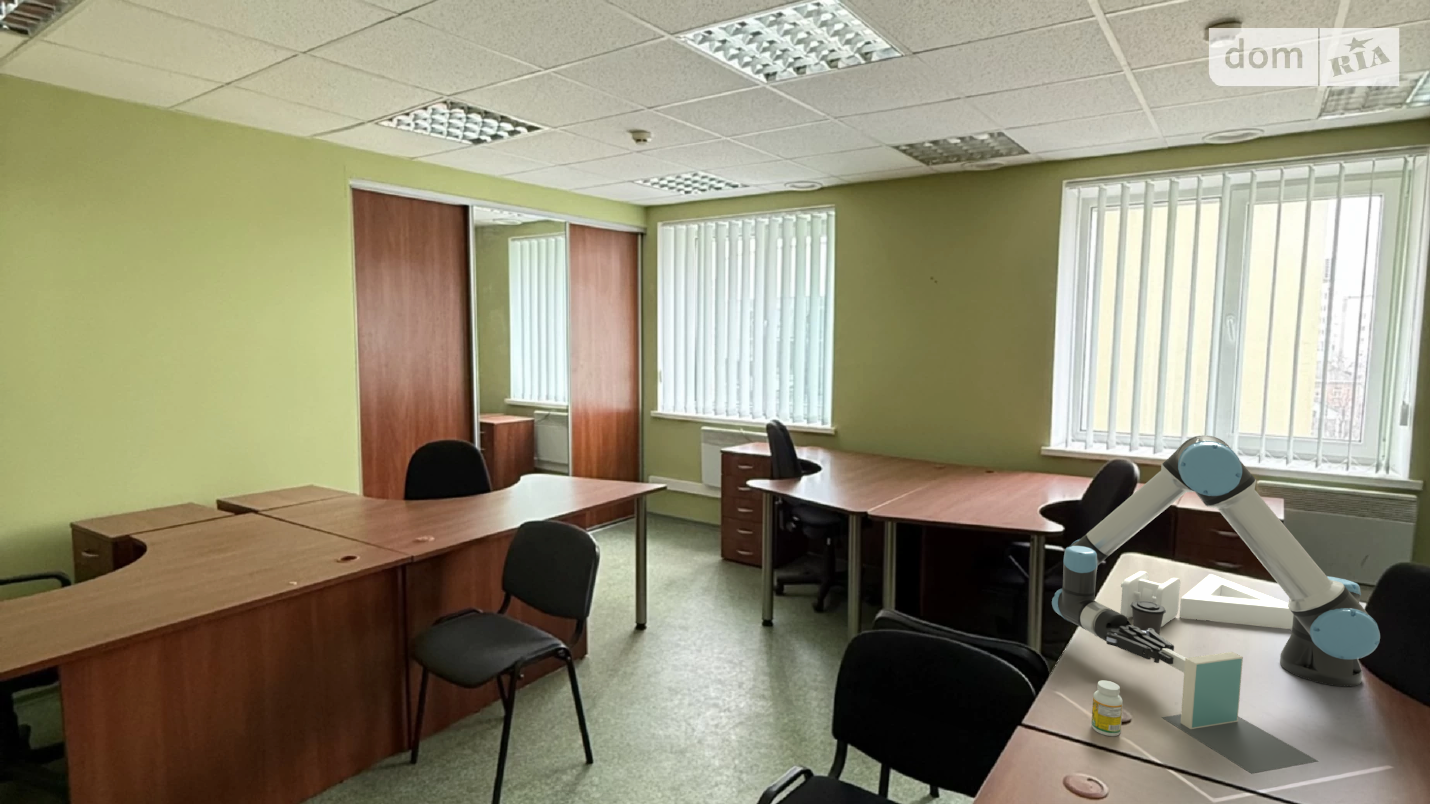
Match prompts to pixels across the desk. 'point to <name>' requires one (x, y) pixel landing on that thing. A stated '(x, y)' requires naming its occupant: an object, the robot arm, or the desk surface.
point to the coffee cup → (1147, 615)
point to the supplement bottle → (1107, 709)
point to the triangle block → (1234, 605)
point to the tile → (1211, 690)
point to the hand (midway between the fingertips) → (1189, 667)
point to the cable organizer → (1150, 594)
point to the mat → (1246, 745)
